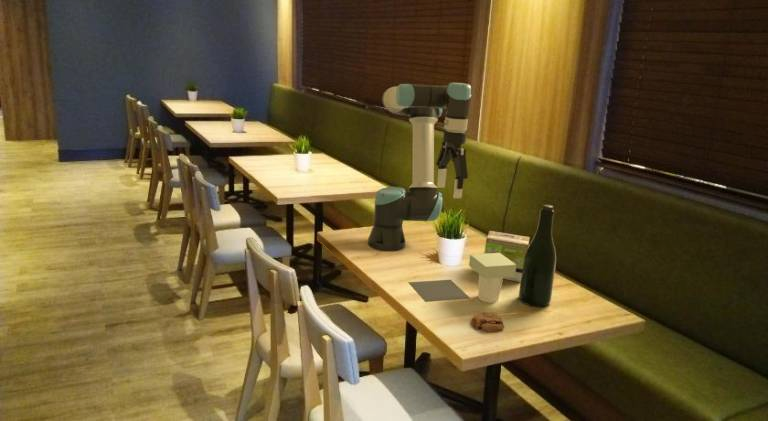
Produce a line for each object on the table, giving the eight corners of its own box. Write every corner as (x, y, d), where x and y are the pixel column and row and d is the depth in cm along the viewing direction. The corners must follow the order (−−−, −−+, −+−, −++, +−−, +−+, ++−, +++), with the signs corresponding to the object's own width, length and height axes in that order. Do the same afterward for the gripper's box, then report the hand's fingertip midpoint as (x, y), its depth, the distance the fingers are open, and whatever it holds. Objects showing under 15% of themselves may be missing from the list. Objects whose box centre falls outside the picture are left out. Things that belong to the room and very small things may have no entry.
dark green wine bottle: (557, 305, 201) (572, 208, 192) (531, 309, 196) (546, 211, 187) (536, 292, 210) (549, 200, 201) (511, 296, 205) (524, 202, 196)
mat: (408, 283, 211) (408, 282, 211) (450, 280, 216) (450, 279, 216) (425, 302, 196) (425, 301, 196) (470, 299, 201) (470, 298, 201)
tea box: (481, 276, 222) (485, 237, 217) (484, 267, 231) (488, 229, 227) (523, 283, 218) (528, 243, 214) (524, 273, 227) (530, 235, 223)
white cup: (499, 305, 198) (503, 277, 195) (475, 302, 199) (478, 273, 196) (500, 296, 205) (504, 268, 202) (476, 292, 207) (480, 265, 204)
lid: (468, 265, 203) (470, 254, 201) (498, 264, 206) (499, 252, 205) (484, 278, 193) (485, 266, 192) (514, 276, 196) (516, 264, 195)
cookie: (503, 320, 188) (505, 311, 187) (504, 335, 178) (505, 326, 177) (471, 315, 190) (472, 307, 189) (470, 331, 180) (471, 321, 179)
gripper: (430, 124, 213) (425, 183, 219) (461, 137, 190) (454, 202, 196) (450, 124, 215) (444, 183, 221) (482, 137, 193) (475, 202, 199)
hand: (448, 192), depth 209 cm, fingers open, 13 cm apart
